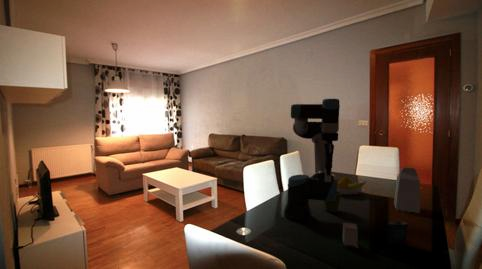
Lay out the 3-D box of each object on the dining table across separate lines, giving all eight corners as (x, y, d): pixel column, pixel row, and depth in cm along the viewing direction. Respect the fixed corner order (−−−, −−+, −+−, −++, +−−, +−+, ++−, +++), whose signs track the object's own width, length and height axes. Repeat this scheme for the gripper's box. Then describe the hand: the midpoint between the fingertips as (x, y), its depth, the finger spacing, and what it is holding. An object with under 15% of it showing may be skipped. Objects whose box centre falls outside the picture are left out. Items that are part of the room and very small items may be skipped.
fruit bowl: (316, 189, 183) (317, 175, 182) (341, 185, 195) (342, 171, 194) (346, 201, 158) (347, 185, 157) (373, 195, 169) (374, 180, 168)
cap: (342, 238, 108) (343, 222, 107) (354, 240, 107) (355, 224, 106) (344, 244, 103) (344, 227, 102) (357, 246, 102) (358, 229, 101)
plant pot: (344, 214, 135) (344, 194, 135) (323, 213, 137) (323, 193, 137) (339, 207, 147) (339, 189, 147) (319, 206, 149) (319, 189, 149)
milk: (395, 210, 144) (398, 168, 142) (393, 203, 154) (396, 164, 152) (420, 214, 138) (423, 170, 136) (416, 207, 148) (419, 166, 146)
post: (342, 239, 109) (342, 222, 108) (356, 241, 107) (357, 224, 107) (344, 246, 103) (344, 228, 103) (358, 248, 102) (359, 230, 101)
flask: (403, 240, 109) (405, 217, 108) (408, 243, 106) (410, 220, 105) (385, 240, 108) (386, 218, 107) (389, 244, 106) (391, 221, 105)
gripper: (320, 130, 117) (318, 177, 119) (322, 132, 104) (320, 184, 106) (336, 131, 115) (334, 178, 117) (340, 133, 102) (338, 186, 104)
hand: (327, 181), depth 112 cm, fingers closed
